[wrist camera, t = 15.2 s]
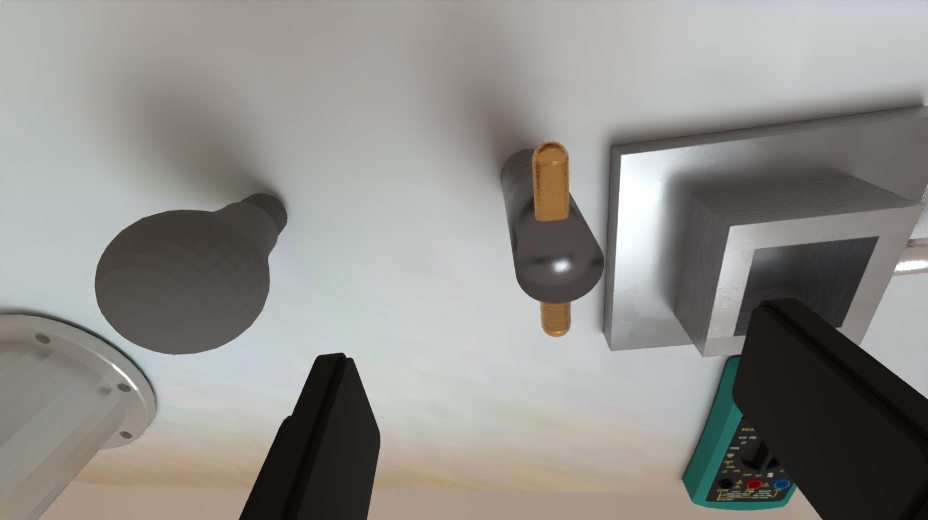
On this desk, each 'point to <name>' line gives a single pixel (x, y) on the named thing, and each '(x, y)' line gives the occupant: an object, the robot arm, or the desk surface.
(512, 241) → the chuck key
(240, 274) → the light bulb
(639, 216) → the block
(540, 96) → the desk surface
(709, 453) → the digital multimeter
